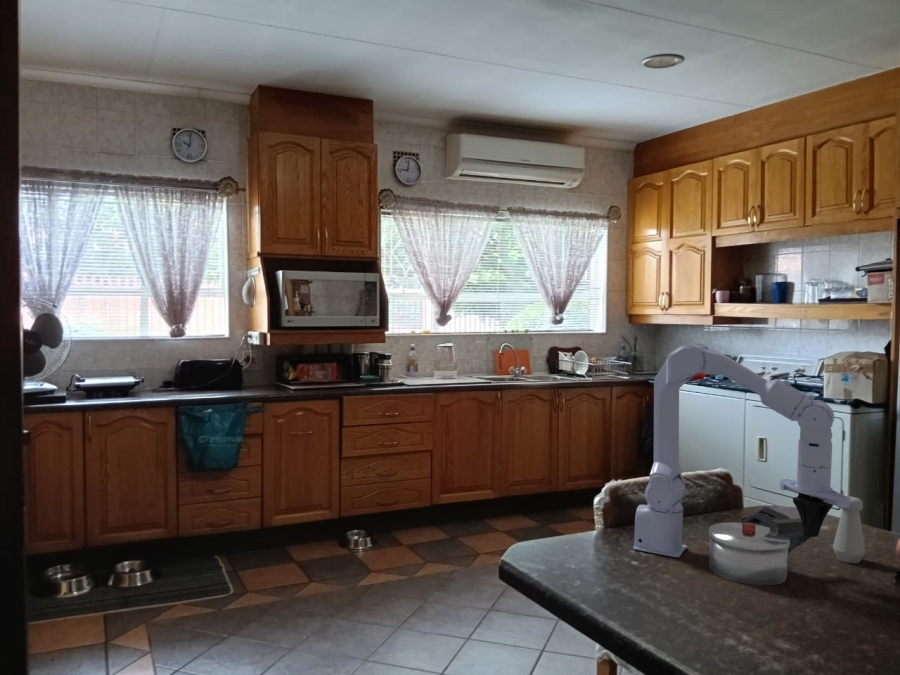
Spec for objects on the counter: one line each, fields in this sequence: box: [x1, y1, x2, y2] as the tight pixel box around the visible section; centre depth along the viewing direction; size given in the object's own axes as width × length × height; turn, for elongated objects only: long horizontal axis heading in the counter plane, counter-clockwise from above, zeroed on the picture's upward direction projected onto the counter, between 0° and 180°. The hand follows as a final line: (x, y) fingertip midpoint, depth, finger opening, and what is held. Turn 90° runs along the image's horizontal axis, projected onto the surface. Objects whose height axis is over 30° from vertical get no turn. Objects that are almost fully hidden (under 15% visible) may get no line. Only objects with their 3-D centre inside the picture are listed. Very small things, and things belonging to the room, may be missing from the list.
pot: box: [708, 537, 789, 586], centre depth 142 cm, size 20×14×6 cm
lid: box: [708, 517, 804, 552], centre depth 140 cm, size 20×15×3 cm
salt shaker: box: [832, 495, 866, 564], centre depth 148 cm, size 6×6×13 cm
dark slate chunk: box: [737, 506, 809, 554], centre depth 163 cm, size 15×22×5 cm
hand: (811, 535), depth 137 cm, fingers closed
